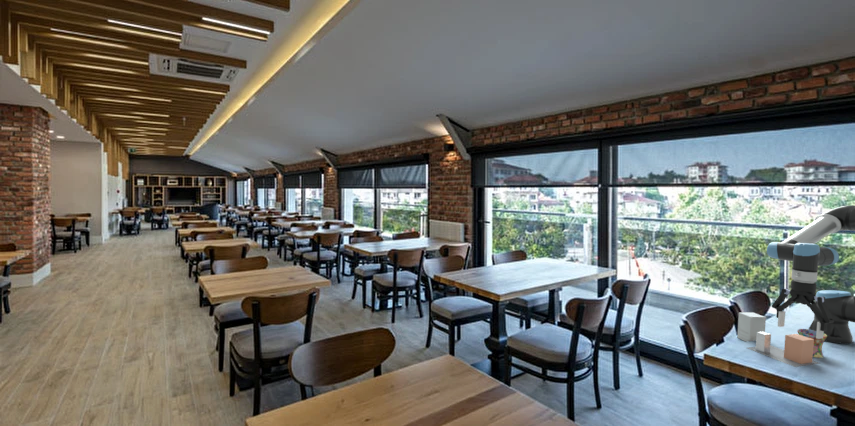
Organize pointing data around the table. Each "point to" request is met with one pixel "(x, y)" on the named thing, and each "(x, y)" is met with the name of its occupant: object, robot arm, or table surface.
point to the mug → (817, 342)
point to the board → (781, 356)
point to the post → (763, 342)
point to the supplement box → (750, 326)
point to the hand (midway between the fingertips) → (799, 332)
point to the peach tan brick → (798, 348)
